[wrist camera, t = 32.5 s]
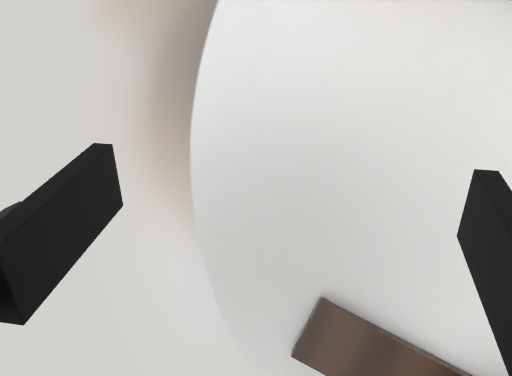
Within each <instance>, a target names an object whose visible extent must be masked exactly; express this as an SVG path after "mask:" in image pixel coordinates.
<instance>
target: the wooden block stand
mask: <svg viewBox="0 0 512 376" xmlns="http://www.w3.org/2000/svg"><path fill="white" fill-rule="evenodd" d="M291 357H293V358H295V359H296V360H298V361H300V362H302V363H304V364H306V365H307V366H309V367H311V368H313V369H315V370H317V371H319V372H320V373H322V374H324V375H326V376H471V375H469V374H468V373H466V372H464V371H462V370H460V369H458V368H456V367H454V366H452V365H450V364H448V363H446V362H444V361H442V360H441V359H439V358H437V357H435V356H433V355H431V354H429V353H427V352H425V351H423V350H421V349H419V348H417V347H415V346H414V345H412V344H410V343H408V342H406V341H404V340H402V339H400V338H398V337H396V336H394V335H392V334H390V333H388V332H387V331H385V330H383V329H381V328H379V327H377V326H375V325H373V324H371V323H369V322H367V321H365V320H363V319H361V318H360V317H358V316H356V315H354V314H352V313H350V312H348V311H346V310H344V309H342V308H340V307H338V306H336V305H334V304H333V303H331V302H329V301H327V300H325V299H323V298H320V300H319V301H318V303H317V305H316V307H315V309H314V311H313V313H312V315H311V317H310V319H309V320H308V322H307V324H306V326H305V328H304V330H303V332H302V334H301V336H300V338H299V340H298V341H297V343H296V345H295V347H294V349H293V351H292V355H291Z"/></svg>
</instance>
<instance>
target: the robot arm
mask: <svg viewBox="0 0 512 376" xmlns="http://www.w3.org/2000/svg"><path fill="white" fill-rule="evenodd" d="M122 206H123V202H122V196H121V191H120V185H119V180H118V174H117V169H116V163H115V157H114V152H113V146H112V144H98V143H93V144H92V145H91V146H90V147H89V148H87V149H86V150H85V151H84V152H82V153H81V154H80V155H79V156H77V157H76V158H75V159H74V160H72V161H71V162H70V163H69V164H68V165H66V166H65V167H64V168H63V169H62V170H60V171H59V172H58V173H56V174H55V175H54V176H53V177H52V178H50V179H49V180H48V181H47V182H46V183H44V184H43V185H42V186H41V187H39V188H38V189H37V190H36V191H35V192H33V193H32V194H31V195H30V196H28V197H27V198H26V199H25V200H24V201H22V202H18V203H15V204H13V205H11V206H9V207H7V208H5V209H3V210H2V211H1V212H0V322H3V323H10V324H17V325H24V324H25V323H26V322H27V321H28V320H29V318H30V317H31V316H32V315H33V314H34V312H35V311H36V310H37V309H38V307H39V306H40V305H41V304H42V303H43V301H44V300H45V299H46V298H47V296H48V295H49V294H50V293H51V292H52V291H53V289H54V288H55V287H56V286H57V285H58V283H59V282H60V281H61V280H62V279H63V277H64V276H65V275H66V274H67V273H68V271H69V270H70V269H71V268H72V267H73V265H74V264H75V263H76V261H78V259H79V258H80V257H81V256H82V254H83V253H84V252H85V251H86V250H87V248H88V247H89V246H90V245H91V244H92V242H93V241H94V240H95V239H96V238H97V236H98V235H99V234H100V233H101V231H102V230H103V229H104V228H105V227H106V226H107V224H108V223H109V222H110V221H111V220H112V218H113V217H114V216H115V215H116V214H117V212H118V211H119V210H120V209H121V208H122ZM457 238H458V241H459V243H460V246H461V249H462V251H463V254H464V257H465V259H466V262H467V265H468V267H469V270H470V273H471V275H472V278H473V281H474V283H475V286H476V289H477V291H478V294H479V297H480V299H481V302H482V305H483V308H484V310H485V313H486V316H487V318H488V321H489V324H490V326H491V329H492V332H493V334H494V337H495V340H496V342H497V345H498V348H499V350H500V353H501V356H502V358H503V361H504V364H505V366H506V369H507V372H508V374H509V376H512V191H511V189H510V188H509V186H508V185H507V183H506V182H505V180H504V179H503V177H502V176H501V174H500V173H499V171H491V170H476V169H474V172H473V176H472V180H471V184H470V188H469V191H468V195H467V199H466V203H465V207H464V210H463V214H462V218H461V222H460V226H459V229H458V233H457Z"/></svg>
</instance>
